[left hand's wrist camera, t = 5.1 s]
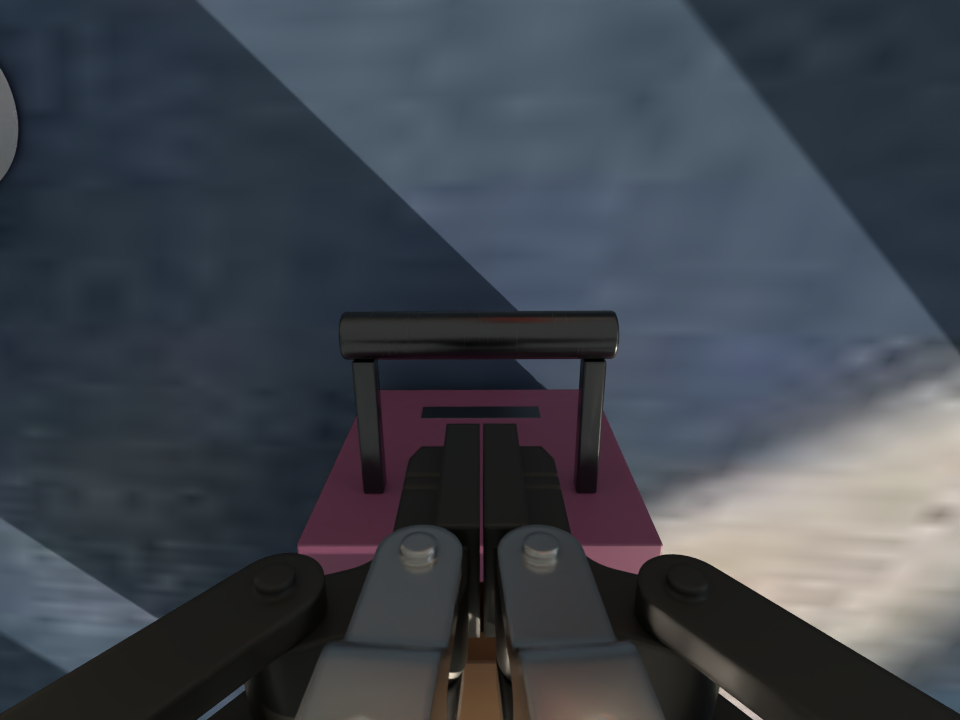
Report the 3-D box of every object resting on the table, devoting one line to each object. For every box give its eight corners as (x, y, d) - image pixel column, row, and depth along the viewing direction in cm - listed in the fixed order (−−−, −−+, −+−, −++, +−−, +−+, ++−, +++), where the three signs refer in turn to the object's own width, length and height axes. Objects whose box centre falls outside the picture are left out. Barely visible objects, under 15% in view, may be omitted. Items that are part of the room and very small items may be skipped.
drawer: (357, 259, 22) (266, 344, 13) (603, 258, 22) (689, 343, 13) (396, 736, 31) (359, 986, 22) (569, 737, 31) (606, 987, 22)
